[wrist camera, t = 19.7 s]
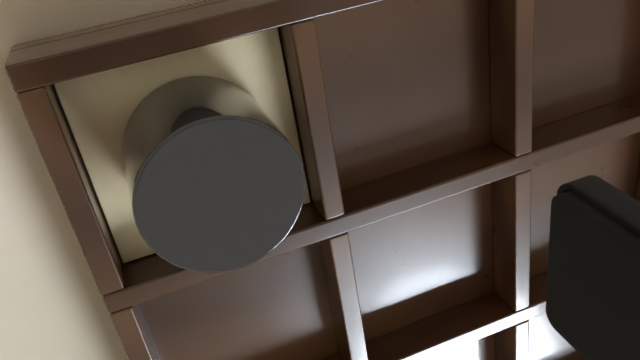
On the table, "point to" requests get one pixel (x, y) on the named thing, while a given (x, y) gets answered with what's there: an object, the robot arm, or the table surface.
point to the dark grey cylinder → (210, 175)
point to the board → (354, 168)
